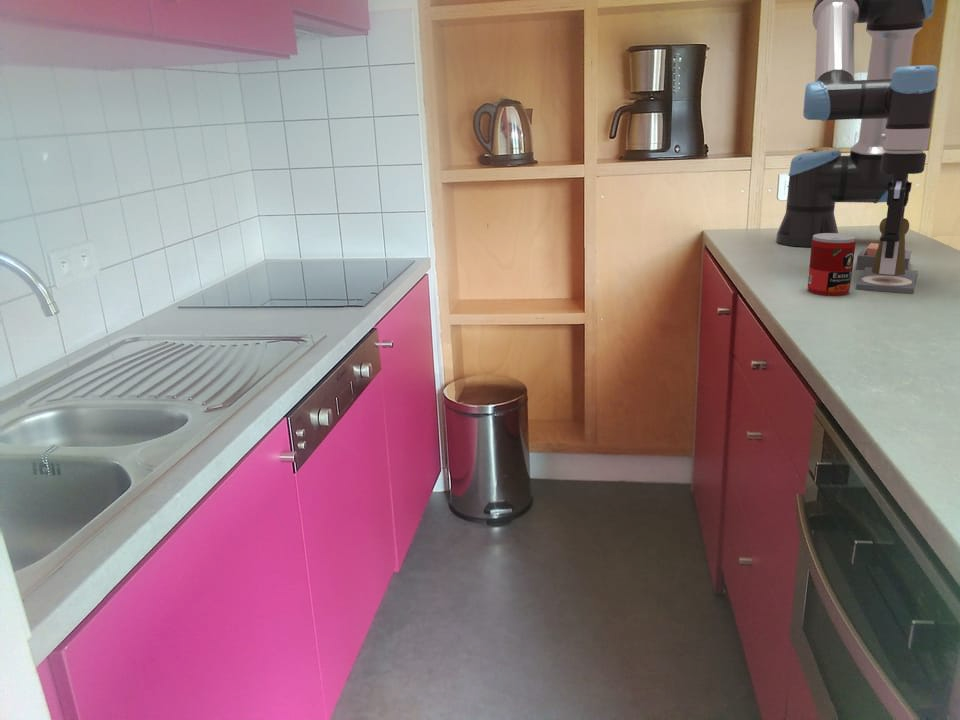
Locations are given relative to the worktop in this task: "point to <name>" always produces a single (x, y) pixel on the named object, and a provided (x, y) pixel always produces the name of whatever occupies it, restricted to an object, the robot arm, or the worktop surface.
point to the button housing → (869, 260)
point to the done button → (872, 249)
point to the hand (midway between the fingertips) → (888, 270)
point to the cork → (901, 249)
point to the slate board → (887, 281)
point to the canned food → (831, 263)
